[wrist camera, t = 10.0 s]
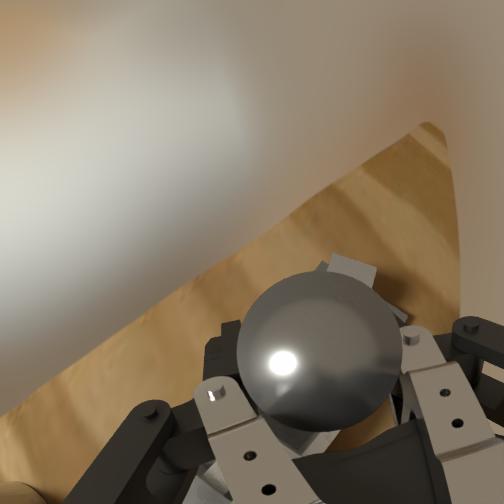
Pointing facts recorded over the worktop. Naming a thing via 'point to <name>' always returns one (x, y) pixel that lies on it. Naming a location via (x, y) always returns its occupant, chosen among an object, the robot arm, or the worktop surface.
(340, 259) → the base
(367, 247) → the worktop surface
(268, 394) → the grey cylinder with band
